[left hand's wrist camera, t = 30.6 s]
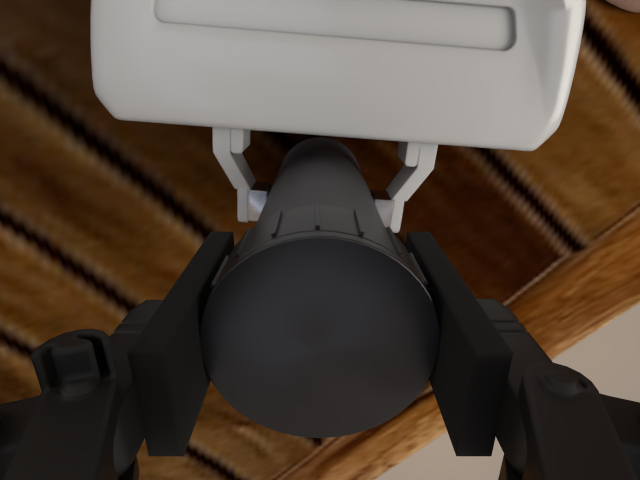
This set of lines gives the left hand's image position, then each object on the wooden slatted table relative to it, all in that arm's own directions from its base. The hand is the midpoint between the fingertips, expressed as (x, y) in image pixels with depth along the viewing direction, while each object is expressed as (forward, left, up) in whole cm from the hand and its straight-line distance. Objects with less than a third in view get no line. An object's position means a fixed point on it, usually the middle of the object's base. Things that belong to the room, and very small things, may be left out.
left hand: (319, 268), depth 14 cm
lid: (0, 0, +4) cm, 4 cm away
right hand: (+1, -1, -7) cm, 7 cm away
